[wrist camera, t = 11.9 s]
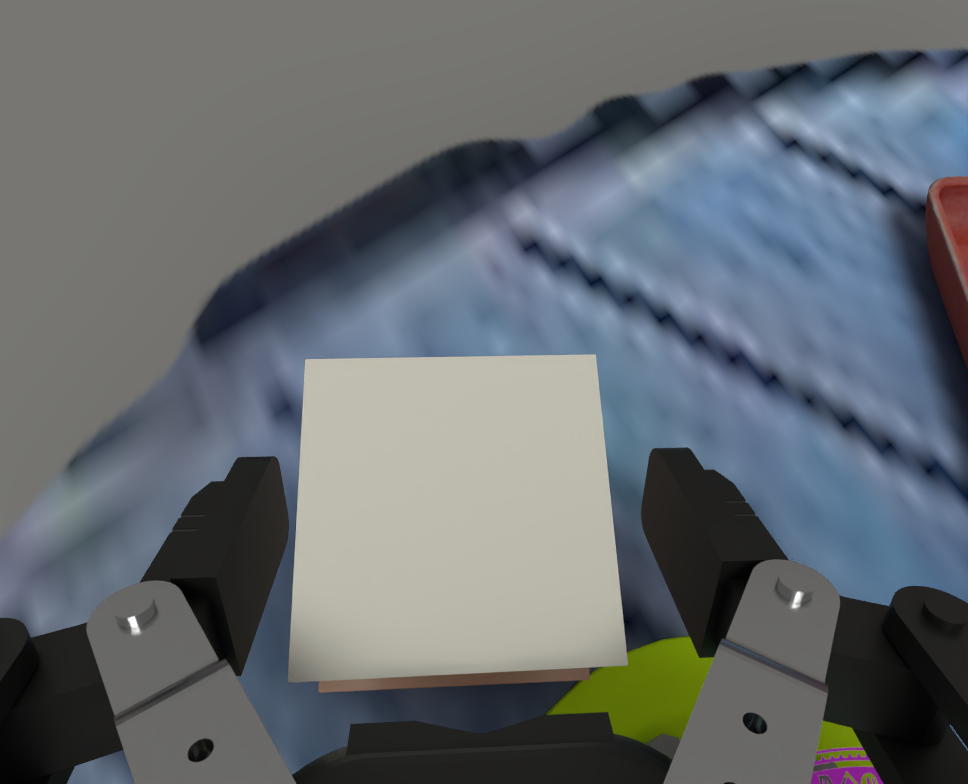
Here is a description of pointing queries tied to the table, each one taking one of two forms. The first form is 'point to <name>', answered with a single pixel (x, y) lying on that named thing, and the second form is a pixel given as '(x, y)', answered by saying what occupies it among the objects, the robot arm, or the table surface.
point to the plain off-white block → (453, 519)
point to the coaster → (456, 680)
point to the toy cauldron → (689, 708)
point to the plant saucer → (950, 250)
